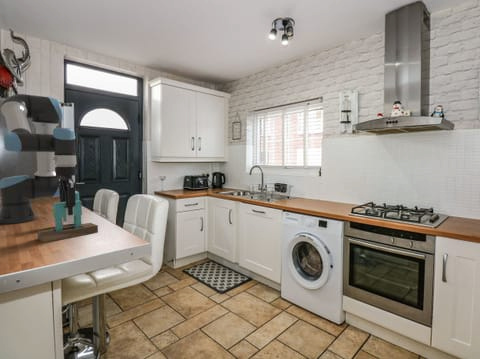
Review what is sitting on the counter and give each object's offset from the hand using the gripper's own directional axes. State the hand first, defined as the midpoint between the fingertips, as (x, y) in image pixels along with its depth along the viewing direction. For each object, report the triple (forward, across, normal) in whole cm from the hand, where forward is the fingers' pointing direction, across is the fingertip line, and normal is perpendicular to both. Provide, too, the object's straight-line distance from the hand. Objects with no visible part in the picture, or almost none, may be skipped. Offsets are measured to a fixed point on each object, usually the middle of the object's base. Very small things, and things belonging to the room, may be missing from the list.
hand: (68, 221), depth 113 cm
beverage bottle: (+6, -20, +8) cm, 22 cm away
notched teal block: (+4, 0, 0) cm, 4 cm away
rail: (+6, 0, 0) cm, 6 cm away
